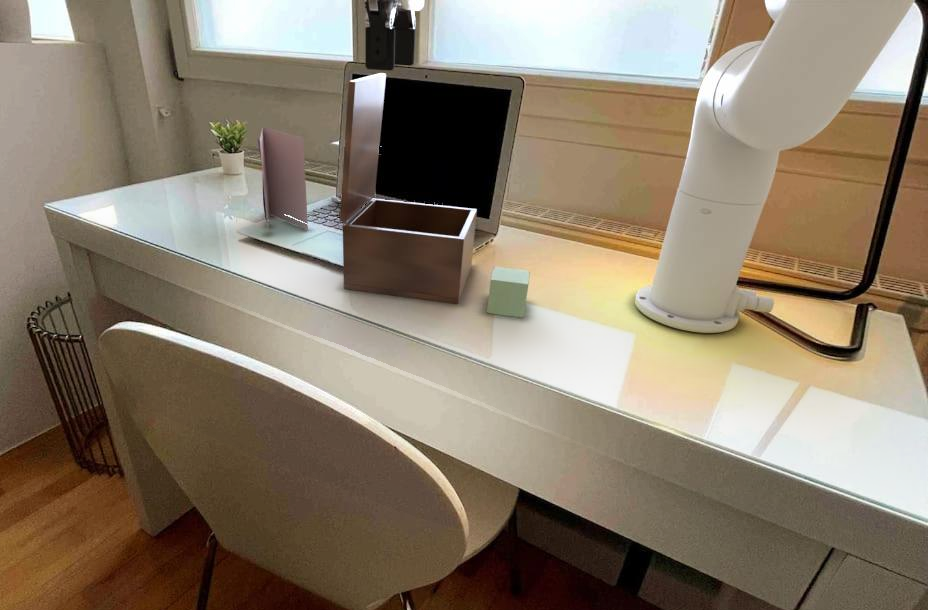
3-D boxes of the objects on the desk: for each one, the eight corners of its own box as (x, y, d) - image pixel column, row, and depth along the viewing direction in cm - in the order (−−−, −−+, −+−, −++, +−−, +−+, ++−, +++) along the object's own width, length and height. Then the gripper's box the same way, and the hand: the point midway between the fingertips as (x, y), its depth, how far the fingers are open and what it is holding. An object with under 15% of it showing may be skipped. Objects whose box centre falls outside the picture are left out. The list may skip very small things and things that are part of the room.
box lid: (386, 73, 75) (380, 72, 75) (355, 82, 63) (348, 81, 63) (374, 195, 83) (369, 194, 83) (345, 222, 72) (339, 221, 72)
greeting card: (265, 214, 103) (257, 127, 95) (306, 213, 104) (302, 127, 97) (262, 235, 93) (253, 140, 86) (308, 234, 95) (303, 140, 87)
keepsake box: (471, 266, 85) (477, 209, 81) (458, 304, 74) (464, 239, 69) (371, 254, 88) (372, 197, 84) (343, 288, 76) (342, 225, 72)
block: (525, 302, 75) (530, 270, 73) (523, 318, 71) (528, 284, 69) (490, 298, 76) (494, 266, 74) (486, 313, 72) (490, 279, 70)
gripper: (411, -137, 50) (404, 74, 59) (445, -100, 65) (436, 65, 74) (331, -138, 52) (336, 69, 60) (382, -101, 67) (380, 61, 75)
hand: (391, 67), depth 67 cm, fingers open, 9 cm apart
